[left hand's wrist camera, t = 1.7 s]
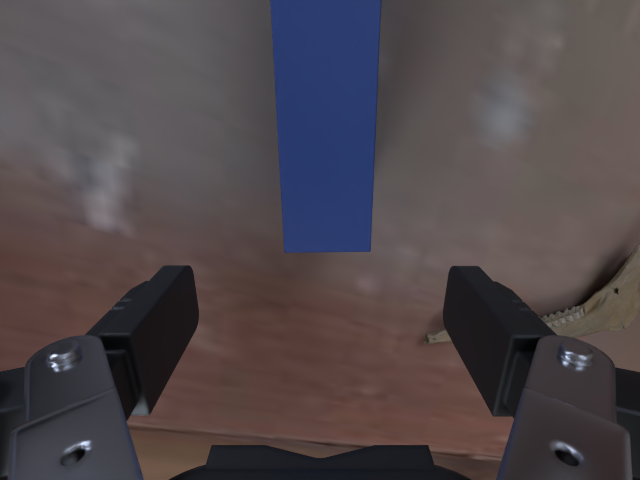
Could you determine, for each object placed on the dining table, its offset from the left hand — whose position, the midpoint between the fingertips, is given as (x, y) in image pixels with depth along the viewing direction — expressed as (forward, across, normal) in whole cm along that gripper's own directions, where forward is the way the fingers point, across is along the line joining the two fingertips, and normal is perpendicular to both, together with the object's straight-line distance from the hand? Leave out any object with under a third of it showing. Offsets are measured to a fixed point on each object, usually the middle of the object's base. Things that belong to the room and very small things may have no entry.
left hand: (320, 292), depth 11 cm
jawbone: (+19, -19, +10) cm, 28 cm away
